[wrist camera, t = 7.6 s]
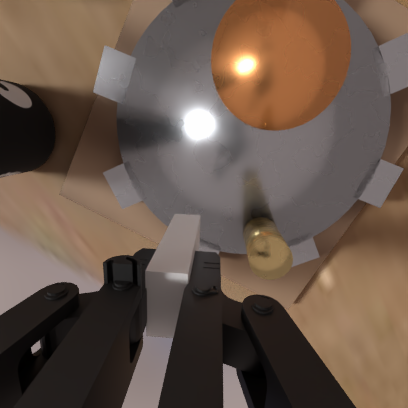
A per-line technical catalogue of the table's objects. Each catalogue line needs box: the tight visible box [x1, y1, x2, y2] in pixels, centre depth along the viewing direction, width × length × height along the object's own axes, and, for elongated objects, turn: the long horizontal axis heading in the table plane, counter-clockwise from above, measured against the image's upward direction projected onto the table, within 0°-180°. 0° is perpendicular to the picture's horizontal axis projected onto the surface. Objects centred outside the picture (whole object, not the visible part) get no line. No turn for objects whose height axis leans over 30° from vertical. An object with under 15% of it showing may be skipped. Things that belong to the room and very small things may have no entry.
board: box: [59, 0, 408, 309], centre depth 20 cm, size 22×21×1 cm
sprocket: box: [93, 0, 408, 280], centre depth 16 cm, size 20×20×6 cm
